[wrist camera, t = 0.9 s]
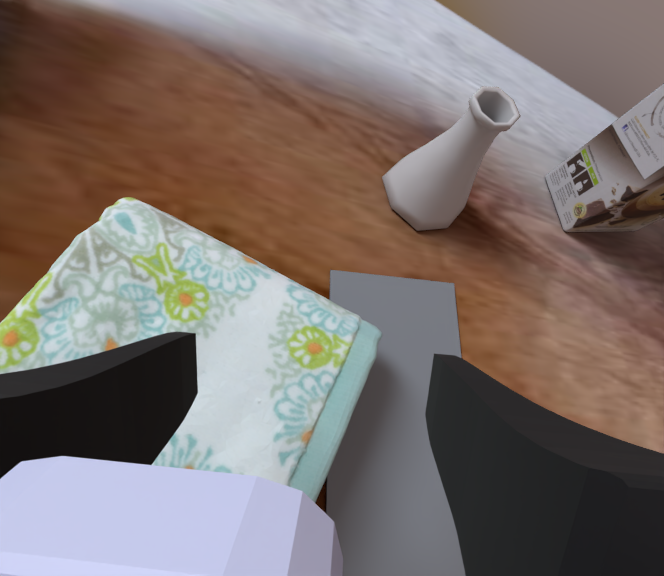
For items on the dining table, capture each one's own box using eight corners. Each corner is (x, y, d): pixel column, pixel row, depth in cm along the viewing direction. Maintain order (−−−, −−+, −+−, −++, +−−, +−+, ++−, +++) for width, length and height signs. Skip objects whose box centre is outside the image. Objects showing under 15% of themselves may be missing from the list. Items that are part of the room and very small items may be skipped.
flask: (475, 214, 33) (567, 135, 24) (413, 245, 31) (490, 169, 22) (430, 149, 35) (502, 51, 26) (366, 173, 32) (421, 73, 23)
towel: (-157, 549, 17) (-300, 594, 13) (139, 212, 26) (118, 165, 21) (195, 725, 18) (182, 828, 14) (370, 341, 27) (399, 323, 22)
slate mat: (496, 718, 21) (498, 721, 21) (321, 749, 19) (322, 752, 19) (452, 284, 30) (453, 283, 30) (330, 271, 28) (330, 269, 28)
